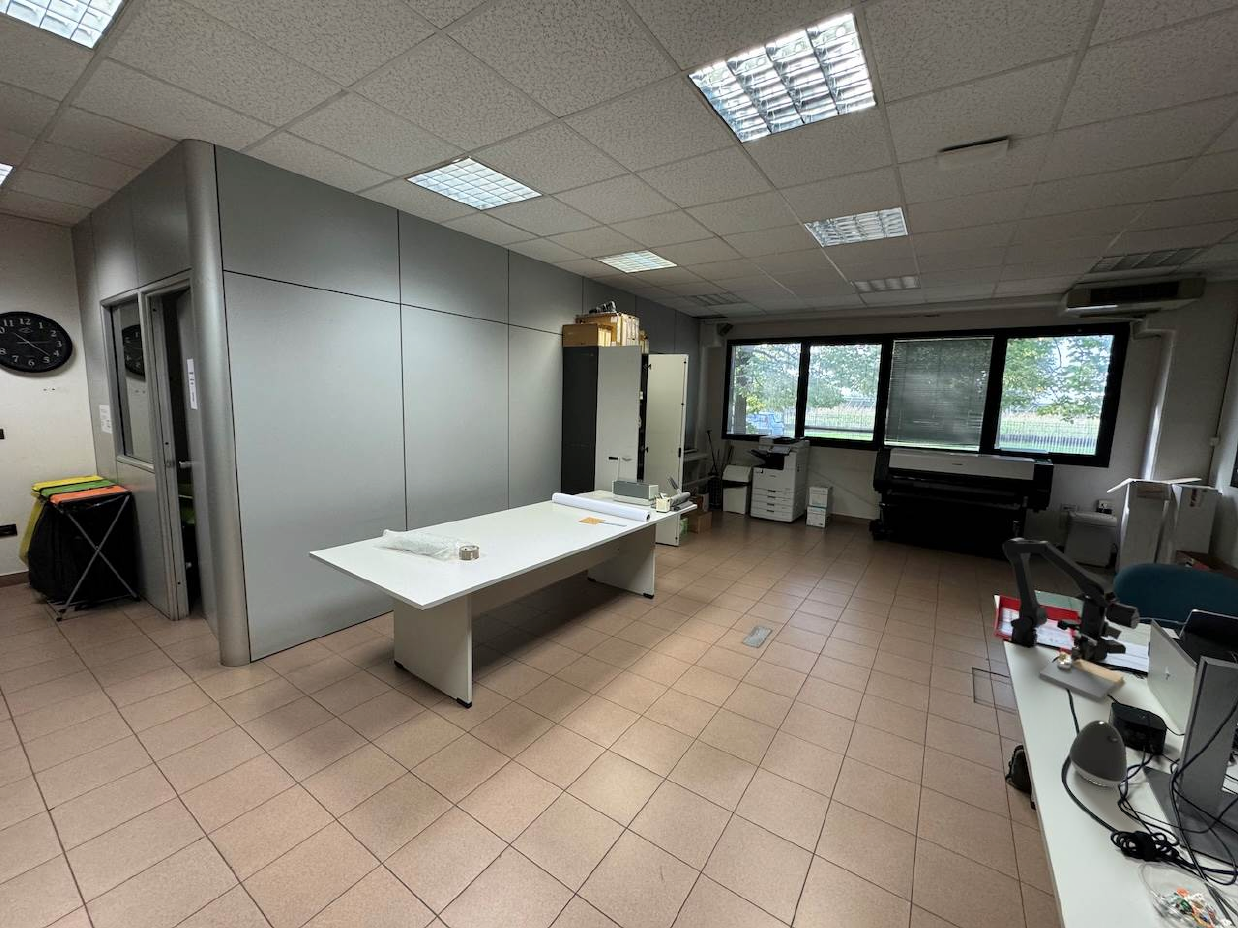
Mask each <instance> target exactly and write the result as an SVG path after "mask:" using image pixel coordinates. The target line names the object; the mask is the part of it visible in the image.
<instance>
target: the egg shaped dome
mask: <svg viewBox="0 0 1238 928" xmlns="http://www.w3.org/2000/svg"><path fill="white" fill-rule="evenodd" d="M1069 758H1070V761H1071V765H1072V767H1073V768H1074V770H1075V772H1076V773H1078V775H1080V776H1081V775H1082V776H1083V777H1085V778H1086V779H1088V780H1091V781H1092V782H1095V783H1097V784H1101V785H1105V786H1112V787H1113V786H1114V787H1116V786H1119V785H1120V784H1121V783H1122V782H1123V781H1125V780H1126V778H1127V776H1128V759H1127V758H1128V757H1127V752H1126V748H1125V744H1124V741H1123V739H1122V736H1121V734H1120V732H1119V731H1118V729H1117V728H1116V727H1115V726H1114V725H1112V724H1111V723H1109V722H1107V721H1105V720H1092V721H1091V722H1088V723H1087V724H1086V725H1085V726H1084V727H1083V728H1081V730H1080V731H1079V732H1078V734H1077V735H1076V737H1074V740H1073V742H1072V744H1071V746H1070V748H1069ZM1082 776H1081V777H1082ZM1085 778H1084V779H1085ZM1086 779H1085V780H1086ZM1088 780H1087V781H1088ZM1092 782H1091V783H1092ZM1112 787H1111V788H1112Z"/></svg>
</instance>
